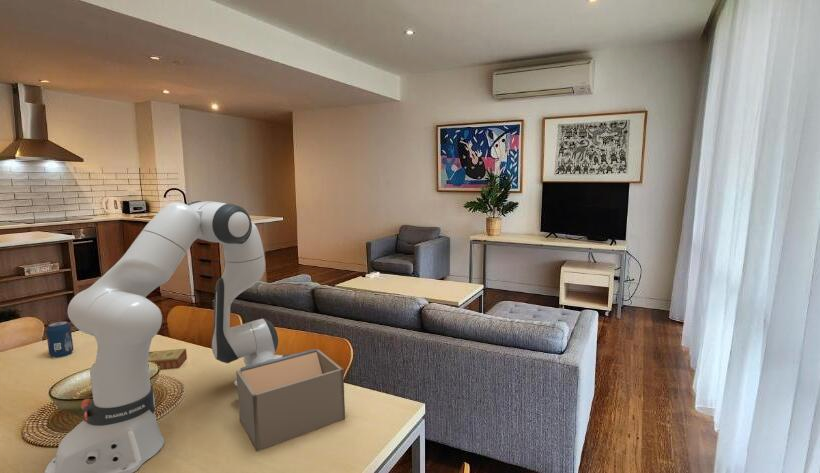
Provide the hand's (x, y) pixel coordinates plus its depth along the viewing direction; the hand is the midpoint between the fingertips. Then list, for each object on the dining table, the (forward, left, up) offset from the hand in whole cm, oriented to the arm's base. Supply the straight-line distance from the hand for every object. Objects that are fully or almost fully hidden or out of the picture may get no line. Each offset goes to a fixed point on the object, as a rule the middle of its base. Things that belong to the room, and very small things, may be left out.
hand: (284, 389), depth 117 cm
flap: (0, -6, -3) cm, 6 cm away
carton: (-26, +54, -7) cm, 61 cm away
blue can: (-54, +86, -6) cm, 102 cm away
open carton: (0, -6, -6) cm, 8 cm away
